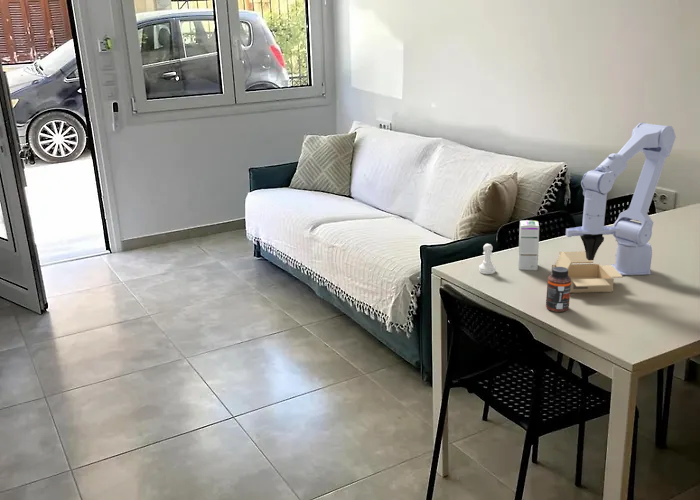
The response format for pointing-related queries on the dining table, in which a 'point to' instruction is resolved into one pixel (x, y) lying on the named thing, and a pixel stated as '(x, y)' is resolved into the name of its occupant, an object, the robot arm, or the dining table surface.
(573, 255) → the flap short
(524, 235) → the syrup box
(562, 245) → the dining table surface
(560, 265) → the flap long
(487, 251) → the chess pawn
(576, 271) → the carton
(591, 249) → the robot arm
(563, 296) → the supplement bottle
